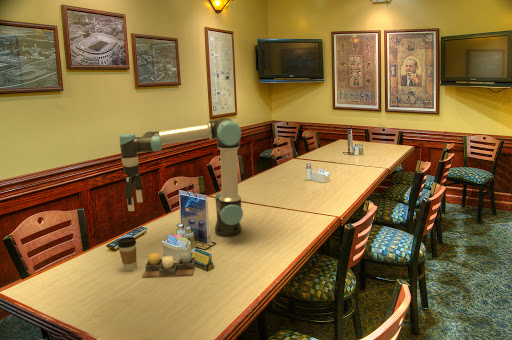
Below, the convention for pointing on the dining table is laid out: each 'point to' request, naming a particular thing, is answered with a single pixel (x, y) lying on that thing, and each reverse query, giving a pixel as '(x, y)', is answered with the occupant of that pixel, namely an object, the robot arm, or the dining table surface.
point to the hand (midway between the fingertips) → (135, 206)
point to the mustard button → (154, 258)
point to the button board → (175, 271)
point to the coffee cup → (128, 253)
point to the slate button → (185, 257)
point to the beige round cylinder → (168, 262)
